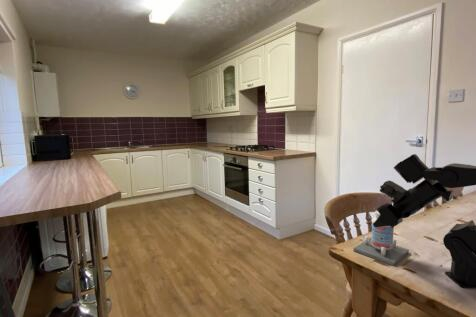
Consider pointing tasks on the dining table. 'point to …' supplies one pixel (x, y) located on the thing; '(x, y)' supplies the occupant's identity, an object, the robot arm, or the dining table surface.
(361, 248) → the pin tray
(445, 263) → the dining table surface
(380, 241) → the pill bottle
